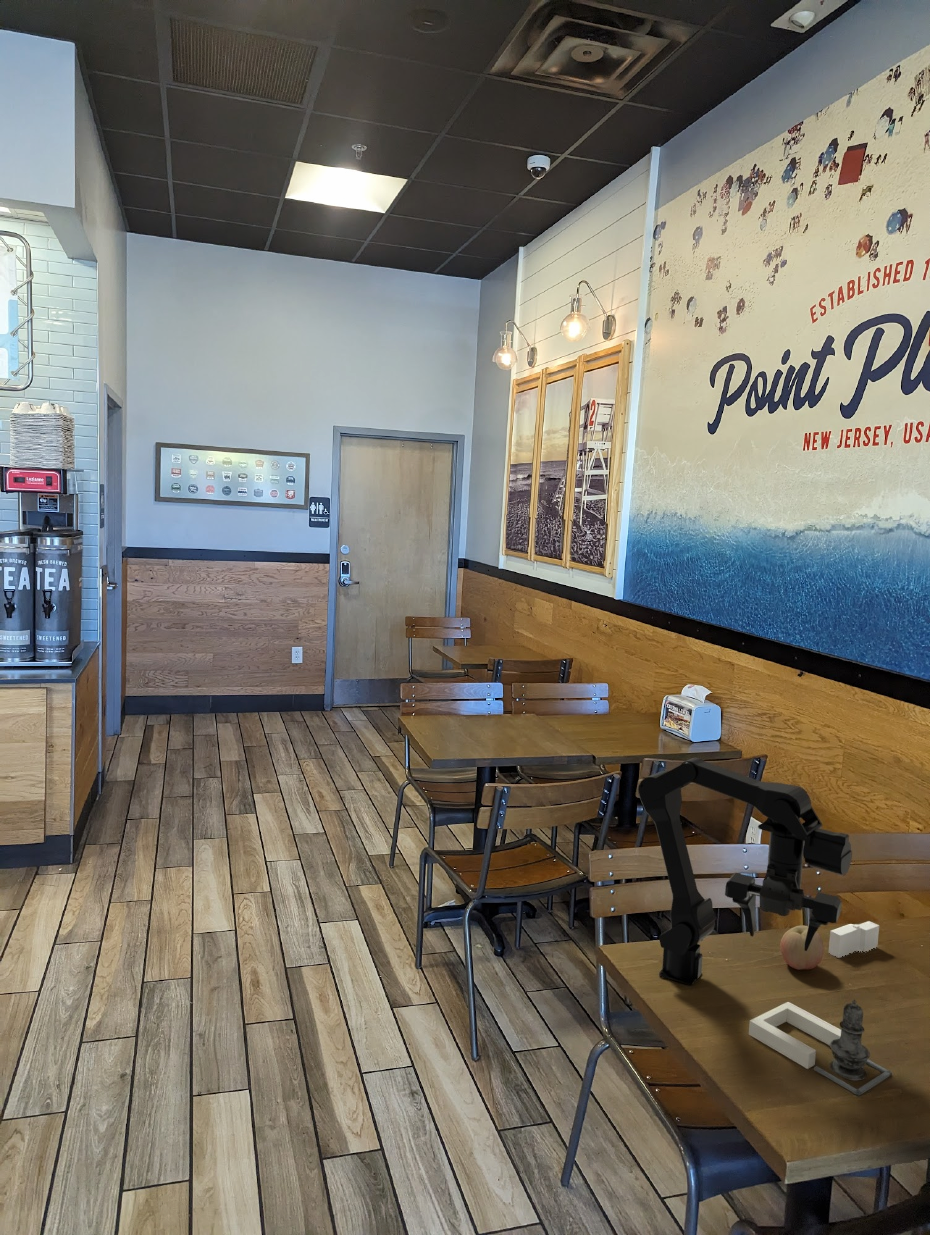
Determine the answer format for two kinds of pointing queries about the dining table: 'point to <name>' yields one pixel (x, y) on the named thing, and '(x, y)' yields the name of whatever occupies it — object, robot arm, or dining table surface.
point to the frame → (864, 1088)
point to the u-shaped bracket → (785, 1043)
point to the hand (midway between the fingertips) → (778, 942)
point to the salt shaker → (850, 1045)
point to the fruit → (801, 948)
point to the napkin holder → (853, 938)
